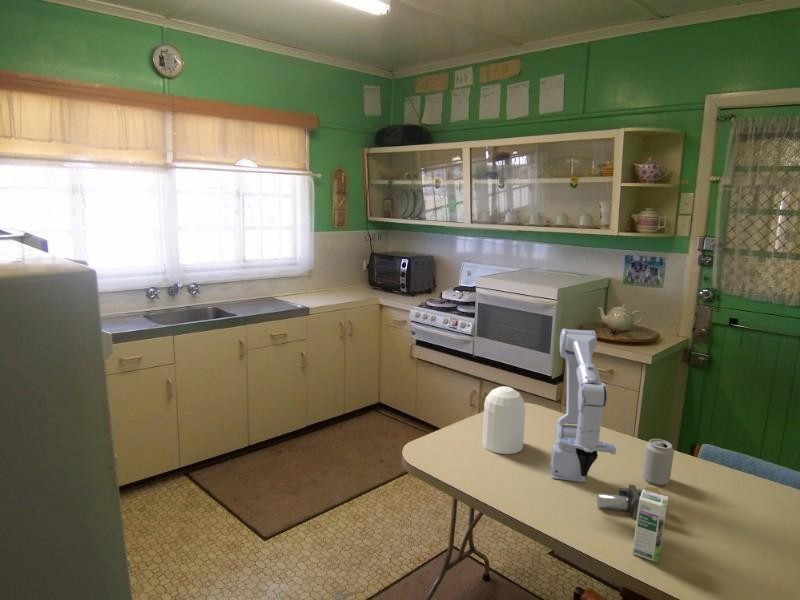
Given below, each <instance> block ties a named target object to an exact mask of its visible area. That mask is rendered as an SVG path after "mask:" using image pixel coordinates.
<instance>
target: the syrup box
mask: <svg viewBox="0 0 800 600" xmlns="http://www.w3.org/2000/svg"><path fill="white" fill-rule="evenodd" d="M668 499H669V496H668V495H662V494H661V493H660V494H656V493H653V492H650V491H646V490H645V489H642V493H641V496H640V499H639V505H638V513H637V519H636V523H635V529H634V530H635V532H634V537H633V538H634V539H633V545H632V550H631V554H632V555H633V556H637V557H640V558H644V559H646V560H649V561H651V562H654V563H659V559H660V553H661V549H662V542H663V535H664V527H665V522H666V514H667V507H668V502H669V500H668Z"/></svg>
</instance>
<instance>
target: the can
mask: <svg viewBox="0 0 800 600" xmlns="http://www.w3.org/2000/svg"><path fill="white" fill-rule="evenodd" d="M674 450H675V449H674V448H673V444H671V443H670V442H669V441H667V440H664V439H660V438H652V439H651V438H650V439H649V441H648V443H646V445H645V451H644V457H643V458H644V459H643V466H642V473H641V475H642V477H643V479H644V480H645V481H646V482H647V483H650V484H653V485H655V486H656V485H657V486H664V485H667V484H669V482H670V480H671V475H672V474H671V473H672V468H673V461H674V455H675V451H674Z"/></svg>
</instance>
